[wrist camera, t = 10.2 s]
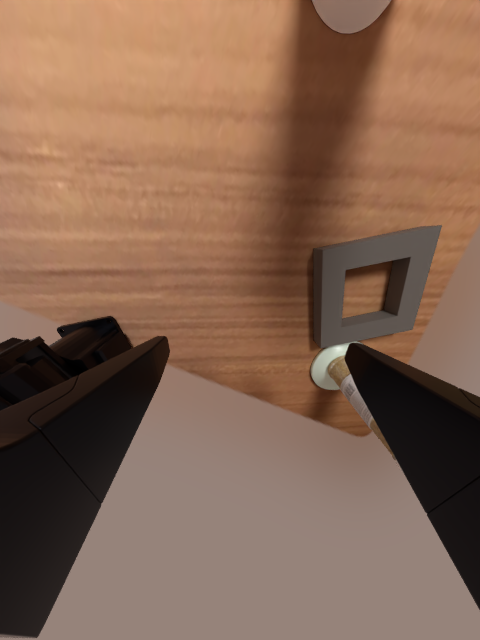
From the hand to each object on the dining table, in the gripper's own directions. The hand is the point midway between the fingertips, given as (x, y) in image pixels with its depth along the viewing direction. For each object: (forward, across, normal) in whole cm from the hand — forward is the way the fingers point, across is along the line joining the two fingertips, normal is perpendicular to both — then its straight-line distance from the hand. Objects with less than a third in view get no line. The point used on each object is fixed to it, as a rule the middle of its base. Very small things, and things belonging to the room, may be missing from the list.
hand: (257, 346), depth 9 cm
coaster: (+14, -14, +13) cm, 24 cm away
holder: (+14, -14, +1) cm, 20 cm away
